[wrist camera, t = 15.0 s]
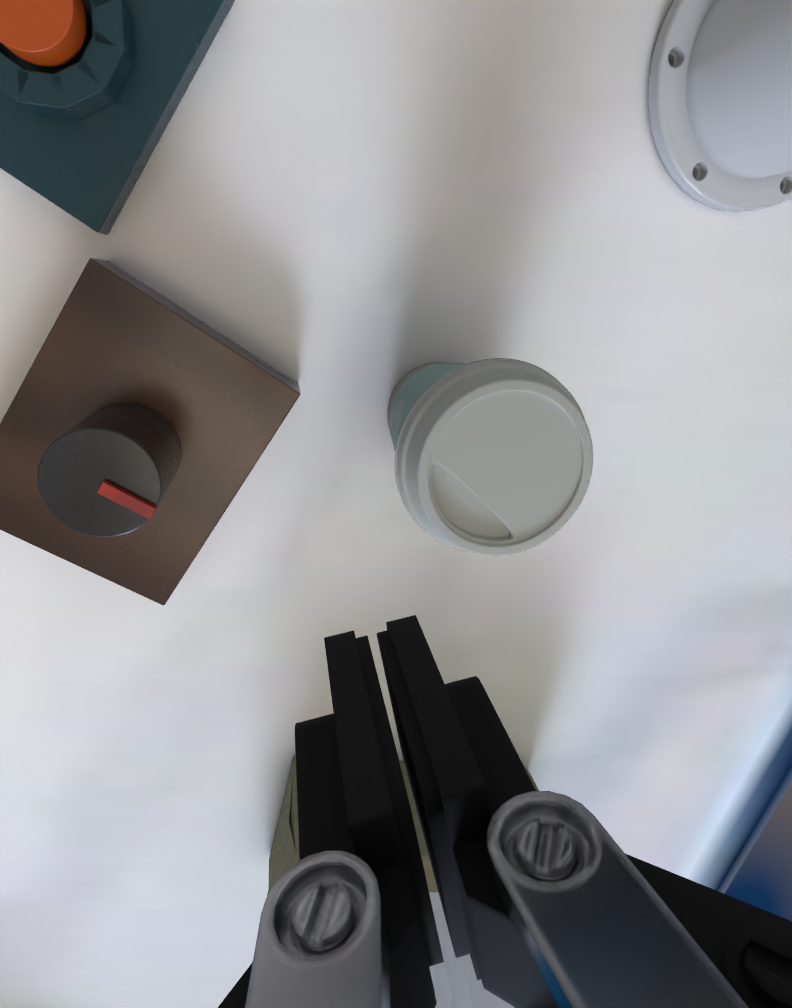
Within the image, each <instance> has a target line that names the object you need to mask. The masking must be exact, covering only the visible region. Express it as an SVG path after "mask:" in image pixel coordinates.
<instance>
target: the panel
mask: <svg viewBox="0 0 792 1008" xmlns="http://www.w3.org/2000/svg"><path fill="white" fill-rule="evenodd" d="M299 396H300V390H299V385H298V384H297V383H295V382H294V381H292V380H291V379H289V378H288V377H286V376H285V375H283V374H281V373H280V372H278V371H277V370H275V369H274V368H272V367H271V366H269V365H268V364H266V363H265V362H263V361H262V360H260V359H258V358H257V357H255V356H254V355H252V354H251V353H249V352H248V351H246V350H245V349H243V348H242V347H240V346H238V345H237V344H235V343H234V342H232V341H231V340H229V339H228V338H226V337H225V336H223V335H222V334H220V333H219V332H217V331H215V330H214V329H212V328H211V327H209V326H208V325H206V324H205V323H203V322H202V321H200V320H199V319H197V318H196V317H194V316H192V315H191V314H189V313H188V312H186V311H185V310H183V309H182V308H180V307H179V306H177V305H176V304H174V303H172V302H171V301H169V300H168V299H166V298H165V297H163V296H162V295H160V294H159V293H157V292H156V291H154V290H153V289H151V288H149V287H148V286H146V285H145V284H143V283H142V282H140V281H139V280H137V279H136V278H134V277H133V276H131V275H129V274H128V273H126V272H125V271H123V270H122V269H120V268H119V267H117V266H116V265H114V264H113V263H111V262H110V261H107V260H100V259H92V258H90V259H89V261H88V263H87V265H86V267H85V268H84V270H83V272H82V274H81V276H80V278H79V280H78V281H77V283H76V285H75V287H74V289H73V291H72V292H71V294H70V296H69V298H68V300H67V302H66V304H65V305H64V307H63V309H62V311H61V313H60V315H59V316H58V318H57V320H56V322H55V324H54V326H53V328H52V329H51V331H50V333H49V335H48V337H47V339H46V340H45V342H44V344H43V346H42V348H41V350H40V352H39V353H38V355H37V357H36V359H35V361H34V363H33V365H32V366H31V368H30V370H29V372H28V374H27V376H26V377H25V379H24V381H23V383H22V385H21V387H20V389H19V390H18V392H17V394H16V396H15V398H14V400H13V401H12V403H11V405H10V407H9V409H8V411H7V413H6V414H5V416H4V418H3V420H2V422H1V424H0V530H2V531H5V532H7V533H9V534H11V535H13V536H15V537H17V538H20V539H22V540H24V541H26V542H28V543H30V544H32V545H35V546H37V547H39V548H41V549H43V550H45V551H48V552H50V553H52V554H54V555H56V556H58V557H60V558H63V559H65V560H67V561H69V562H71V563H73V564H75V565H78V566H80V567H82V568H84V569H86V570H88V571H91V572H93V573H95V574H97V575H99V576H101V577H103V578H106V579H108V580H110V581H112V582H114V583H116V584H118V585H121V586H123V587H125V588H127V589H129V590H131V591H134V592H136V593H138V594H140V595H142V596H144V597H146V598H149V599H151V600H153V601H155V602H157V603H159V604H161V605H165V604H166V602H167V600H168V599H169V597H170V596H171V594H172V593H173V591H174V590H175V588H176V586H177V585H178V583H179V582H180V580H181V579H182V577H183V576H184V574H185V572H186V571H187V569H188V568H189V566H190V565H191V563H192V562H193V560H194V559H195V557H196V555H197V554H198V552H199V551H200V549H201V548H202V546H203V545H204V543H205V541H206V540H207V538H208V537H209V535H210V534H211V532H212V531H213V529H214V528H215V526H216V524H217V523H218V521H219V520H220V518H221V517H222V515H223V514H224V512H225V510H226V509H227V507H228V506H229V504H230V503H231V501H232V500H233V498H234V496H235V495H236V493H237V492H238V490H239V489H240V487H241V486H242V484H243V483H244V481H245V479H246V478H247V476H248V475H249V473H250V472H251V470H252V469H253V467H254V465H255V464H256V462H257V461H258V459H259V458H260V456H261V455H262V453H263V452H264V450H265V448H266V447H267V445H268V444H269V442H270V441H271V439H272V438H273V436H274V434H275V433H276V431H277V430H278V428H279V427H280V425H281V424H282V422H283V421H284V419H285V417H286V416H287V414H288V413H289V411H290V410H291V408H292V407H293V405H294V403H295V402H296V400H297V399H298V397H299ZM116 403H134V404H138V405H142V406H145V407H147V408H149V409H151V410H154V411H155V412H157V413H158V414H160V415H161V416H162V417H163V418H164V419H165V420H166V421H167V422H168V423H169V424H170V425H171V427H172V428H173V429H174V431H175V433H176V435H177V437H178V440H179V443H180V449H181V460H180V465H179V468H178V470H177V472H176V474H175V476H174V478H173V480H172V482H171V484H170V486H169V487H168V489H167V491H166V493H165V495H164V497H163V499H162V500H161V502H160V504H159V506H158V508H157V510H156V511H155V513H154V514H153V516H152V517H151V518H150V519H149V520H148V521H147V522H146V523H145V524H144V525H143V526H141V527H140V528H138V529H136V530H134V531H132V532H130V533H127V534H124V535H120V536H114V537H96V536H91V535H87V534H83V533H80V532H78V531H75V530H73V529H71V528H69V527H68V526H66V525H65V524H63V523H62V522H60V521H59V520H58V519H57V518H56V517H55V516H54V515H53V514H52V513H51V512H50V511H49V509H48V508H47V506H46V505H45V503H44V501H43V499H42V497H41V494H40V492H39V488H38V483H37V471H38V466H39V462H40V459H41V457H42V455H43V453H44V452H45V450H46V448H47V447H48V446H49V445H50V444H51V443H52V442H53V441H54V440H55V439H57V438H58V437H59V436H61V435H62V434H64V433H65V432H66V431H68V430H69V429H71V428H72V427H74V426H75V425H77V424H78V423H79V422H81V421H82V420H84V419H85V418H87V417H88V416H89V415H91V414H92V413H94V412H95V411H97V410H99V409H100V408H102V407H105V406H107V405H111V404H116Z"/></svg>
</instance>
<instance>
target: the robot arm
mask: <svg viewBox="0 0 792 1008" xmlns="http://www.w3.org/2000/svg"><path fill="white" fill-rule="evenodd" d="M668 60H669V62H668ZM648 109H649V115H650V122H651V129H652V134H653V138H654V141H655V144H656V147H657V150H658V153H659V156H660V158H661V160H662V161H663V163H664V165H665V167H666V169H667V171H668V172H669V174H670V176H671V177H672V178H673V179H674V180H675V182H676V183H677V184H678V185H679V186H680V187H681V189H682V190H683V191H684V192H686V193H687V194H688V195H690V196H691V197H692V198H694V199H695V200H697V201H698V202H700V203H702V204H704V205H707V206H709V207H712V208H714V209H717V210H724V211H732V212H739V211H749V210H756V209H761V208H766V207H771V206H775V205H777V204H779V203H782V202H784V201H787V200H789V199H791V198H792V0H674V1H673V3H672V5H671V8H670V10H669V12H668V14H667V16H666V18H665V20H664V22H663V24H662V26H661V30H660V33H659V36H658V39H657V43H656V46H655V49H654V52H653V57H652V64H651V70H650V76H649V103H648ZM386 625H387V631H383V632H379V633H377V638H378V643H379V647H380V652H381V657H382V662H383V666H384V671H385V676H386V680H387V685H388V690H389V694H390V699H391V704H392V709H393V713H394V718H395V723H396V727H397V732H398V737H399V741H400V746H401V751H402V755H403V759H404V763H405V767H406V771H407V775H408V779H409V783H410V786H411V790H412V794H413V798H414V802H415V805H416V809H417V813H418V817H419V821H420V824H421V828H422V832H423V836H424V840H425V843H426V847H427V851H428V855H429V859H430V862H431V866H432V870H433V874H434V878H435V882H436V885H437V889H438V893H439V897H440V901H441V904H442V908H443V912H444V916H445V920H446V923H447V927H448V931H449V935H450V939H451V942H452V946H453V950H454V953H455V957H456V958H459V957H462V956H465V955H468V954H470V957H471V960H472V964H473V967H474V971H475V974H476V978H477V980H480V979H481V981H482V984H483V988H484V989H486V990H487V991H489V992H491V993H492V994H494V995H496V996H497V997H499V998H500V999H502V1000H504V1001H505V1002H507V1003H509V1004H510V1005H512V1006H513V1008H792V922H791V921H790V920H787V919H784V918H782V917H780V916H777V915H775V914H772V913H770V912H767V911H765V910H762V909H760V908H757V907H755V906H752V905H750V904H747V903H745V902H743V901H740V900H738V899H735V898H733V897H730V896H728V895H726V894H723V893H721V892H718V891H716V890H713V889H711V888H708V887H706V886H703V885H701V884H698V883H696V882H693V881H691V880H689V879H686V878H684V877H681V876H679V875H676V874H674V873H671V872H669V871H666V870H664V869H661V868H659V867H657V866H654V865H652V864H649V863H647V862H644V861H642V860H639V859H637V858H634V857H632V856H629V855H627V854H625V853H624V852H623V851H622V850H621V848H620V847H619V846H618V845H617V843H616V842H615V841H614V840H613V838H612V837H611V836H610V835H609V833H608V832H607V831H606V830H605V828H604V827H603V826H602V825H601V824H600V822H599V821H598V820H597V819H596V817H595V816H594V815H593V814H592V813H591V812H590V811H589V810H588V809H586V808H585V807H584V806H583V805H582V804H581V803H579V802H577V801H575V800H573V799H572V798H570V797H568V796H566V795H562V794H558V793H554V792H550V791H536V789H535V787H534V786H533V784H532V782H531V780H530V778H529V776H528V774H527V772H526V770H525V768H524V766H523V764H522V762H521V760H520V758H519V756H518V754H517V752H516V750H515V748H514V746H513V744H512V742H511V740H510V738H509V736H508V734H507V732H506V730H505V729H504V727H503V725H502V723H501V721H500V719H499V717H498V715H497V713H496V711H495V709H494V707H493V705H492V703H491V701H490V699H489V697H488V695H487V693H486V691H485V689H484V687H483V685H482V683H481V682H480V680H479V678H478V677H476V676H474V677H471V678H467V679H463V680H459V681H455V682H452V683H448V684H444V682H443V680H442V677H441V675H440V672H439V670H438V668H437V665H436V663H435V660H434V658H433V655H432V653H431V651H430V648H429V646H428V643H427V641H426V639H425V636H424V634H423V631H422V629H421V627H420V624H419V622H418V619H417V617H416V616H415V615H414V616H410V617H406V618H402V619H398V620H394V621H390V622H386ZM324 641H325V649H326V656H327V664H328V672H329V680H330V687H331V695H332V703H333V711H334V714H330V715H326V716H322V717H319V718H315V719H311V720H307V721H303V722H300V723H296V725H295V749H296V776H297V803H298V830H299V857H300V861H298V862H297V863H295V864H293V865H292V866H291V867H290V868H289V869H288V870H287V871H286V872H285V873H283V874H282V875H281V876H280V877H279V878H278V879H277V881H276V883H275V884H274V886H273V887H272V889H271V891H270V892H269V894H268V895H267V898H266V901H265V904H264V907H263V910H262V913H261V918H260V924H259V930H258V936H257V941H256V947H255V953H254V959H253V962H252V964H251V965H250V966H249V968H248V969H247V970H246V972H245V973H244V974H243V976H242V977H241V978H240V979H239V981H238V982H237V983H236V985H235V986H234V987H233V989H232V990H231V991H230V992H229V994H228V995H227V996H226V998H225V999H224V1000H223V1002H222V1003H221V1004H220V1005H219V1007H218V1008H435V1006H436V1004H437V1002H436V997H435V991H434V986H433V982H432V977H431V973H430V968H429V967H430V966H433V965H436V964H440V963H443V962H444V959H443V955H442V950H441V945H440V941H439V936H438V932H437V927H436V922H435V918H434V913H433V908H432V904H431V899H430V894H429V890H428V885H427V880H426V876H425V871H424V867H423V862H422V857H421V853H420V848H419V843H418V839H417V834H416V829H415V825H414V820H413V816H412V811H411V807H410V803H409V799H408V795H407V791H406V787H405V783H404V779H403V775H402V771H401V767H400V763H399V759H398V755H397V751H396V747H395V743H394V739H393V735H392V731H391V727H390V723H389V719H388V715H387V711H386V707H385V703H384V700H383V696H382V692H381V688H380V684H379V680H378V676H377V672H376V668H375V664H374V660H373V656H372V652H371V648H370V644H369V640H368V636H363V637H359V638H355V633H354V631H350V632H346V633H342V634H337V635H333V636H329V637H325V638H324Z"/></svg>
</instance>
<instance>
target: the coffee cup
mask: <svg viewBox="0 0 792 1008" xmlns="http://www.w3.org/2000/svg"><path fill="white" fill-rule="evenodd" d="M388 424H389V429H390V433H391V437H392V441H393V445H394V449H395V453H396V454H395V475H396V481H397V486H398V490H399V493H400V496H401V498H402V501H403V503H404V505H405V507H406V509H407V510H408V512H409V513H410V515H411V516H412V518H413V519H414V520H415V521H416V522H417V524H418V525H419V526H420V527H421V528H423V529H424V530H425V531H426V532H427V533H429V534H430V535H431V536H433V537H434V538H436V539H437V540H439V541H440V542H442V543H444V544H446V545H448V546H450V547H452V548H455V549H458V550H462V551H466V552H472V553H476V554H482V555H495V556H498V555H509V554H513V553H518V552H521V551H524V550H527V549H530V548H532V547H534V546H536V545H538V544H540V543H542V542H544V541H545V540H547V539H548V538H550V537H551V536H552V535H554V534H555V533H556V532H557V531H559V530H560V529H561V528H562V527H563V526H564V525H565V524H566V523H567V521H568V520H569V519H570V518H571V517H572V515H573V514H574V513H575V511H576V510H577V508H578V507H579V505H580V503H581V501H582V500H583V498H584V495H585V493H586V491H587V488H588V485H589V482H590V478H591V473H592V466H593V447H592V440H591V436H590V433H589V429H588V426H587V424H586V422H585V419H584V416H583V413H582V411H581V409H580V407H579V405H578V403H577V402H576V400H575V399H574V397H573V396H572V395H571V393H570V392H569V391H568V390H567V389H566V388H565V387H564V386H563V385H562V384H561V383H560V382H559V381H558V380H557V379H556V378H555V377H553V376H552V375H551V374H549V373H548V372H546V371H545V370H543V369H541V368H539V367H537V366H535V365H533V364H530V363H527V362H524V361H520V360H515V359H506V358H494V359H485V360H480V361H475V362H472V363H469V364H465V363H431V364H426V365H423V366H420V367H418V368H416V369H414V370H412V371H411V372H409V373H408V374H407V375H406V376H404V377H403V378H402V379H401V381H400V382H399V383H398V384H397V386H396V387H395V389H394V391H393V393H392V395H391V398H390V401H389V405H388Z"/></svg>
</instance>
